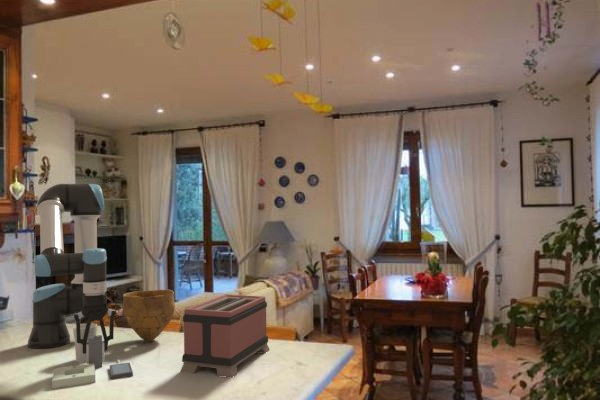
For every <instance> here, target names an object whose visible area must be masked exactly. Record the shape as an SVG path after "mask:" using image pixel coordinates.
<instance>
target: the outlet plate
mask: <svg viewBox="0 0 600 400" xmlns="http://www.w3.org/2000/svg"><path fill="white" fill-rule="evenodd" d="M91 383H96V368H95V366H94V363H93V364H87V363H85V364H79V365H72V366H63V367H57V368H54V369H53V375H52V384H51V385H52V387H51V388H52V389H59V388H65V387H72V386H73V387H74V386H77V385H86V384H91Z"/></svg>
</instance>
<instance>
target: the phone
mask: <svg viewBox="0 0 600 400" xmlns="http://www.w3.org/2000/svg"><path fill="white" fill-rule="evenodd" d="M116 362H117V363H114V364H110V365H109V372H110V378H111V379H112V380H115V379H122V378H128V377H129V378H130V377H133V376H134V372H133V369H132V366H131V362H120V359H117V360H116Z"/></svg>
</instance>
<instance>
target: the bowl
mask: <svg viewBox="0 0 600 400" xmlns="http://www.w3.org/2000/svg"><path fill="white" fill-rule="evenodd" d="M122 298H123V300H122V313H123V314H122V315H123V316H124V318H125V320H126V322H127V324H128V325H129V326H130V328H131V329H132V330H133V331H134V332H135V333H136V335H138V337H139V338H140V339H142V340H144V341H146V342H152V341H154V340H156V338H157V337H159V336H160V335H161V333H163V331H164V329H165V328H166V327H167V326H168V325H169V324H170V322H171V321H172V319H173V316H174V314H175V309H176V302H175V292H174V291H173V289H172V290H171V289H155V290H137V291H130V292H125V293H123V295H122Z"/></svg>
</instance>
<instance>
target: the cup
mask: <svg viewBox="0 0 600 400" xmlns="http://www.w3.org/2000/svg"><path fill="white" fill-rule="evenodd" d="M86 324H87V323H80V334H81V339H83V337H84V333H85V328H86ZM72 329H73V336H74V337H73V339H74V348H75V349H74V350H75V362H77V363H86V354H83V345H82V344H81V343H77V333H76V325H74V326H73V327H72ZM97 333H98V324H97V323H92V322H91V325H90V329H89V334H88V338H87V343H88V342H89V336H97Z"/></svg>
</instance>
